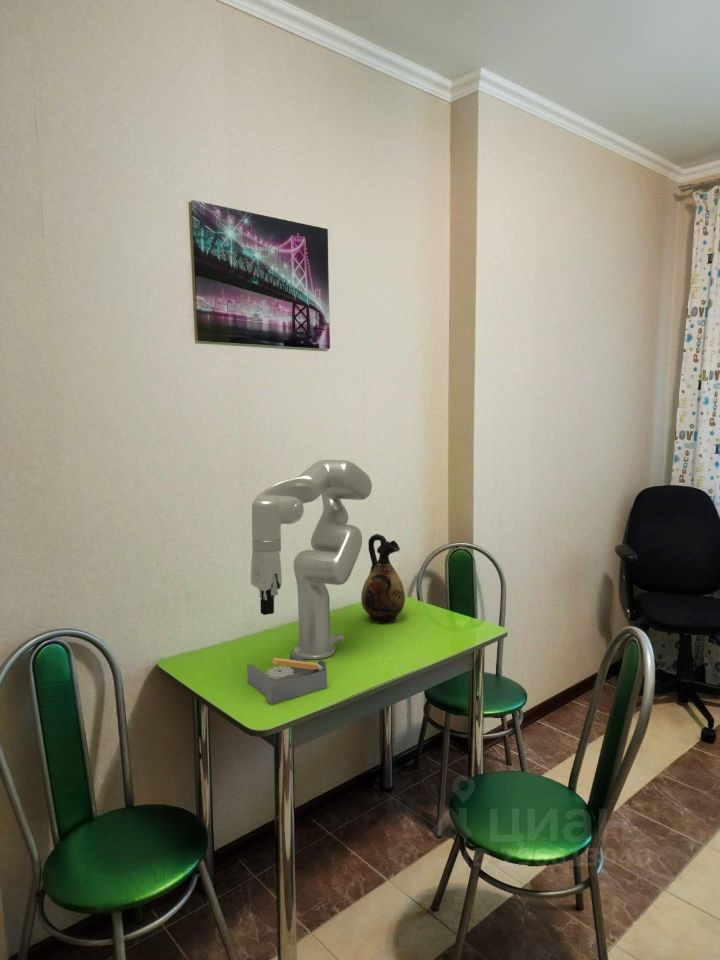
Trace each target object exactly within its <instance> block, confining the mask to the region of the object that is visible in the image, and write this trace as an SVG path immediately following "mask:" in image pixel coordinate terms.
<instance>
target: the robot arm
mask: <svg viewBox="0 0 720 960" xmlns="http://www.w3.org/2000/svg"><path fill="white" fill-rule="evenodd" d="M372 483H373V482H372V479H371V478H370V476H369V475H368V474H367V472H365V471H364V470H363V469H362V468H360V467H359V466H358V465H356V464H355V463H354V462H353V461H350V460H346V459H321V460H317V461H316V462H315V463H313V464H312V465H310V467H307V469H306V470H304V471H303V472H302V473H301V474H300V475H299V476H296V477H293V478H288V479H287V480H283V481H280V482H278V483H275V484H272V485H270V486H268V487H267V488H266V489H264V490H262V492H260V493H259V494H258V495H257V496H256V497H255V499H254V500H253V502H252V504H251V535H252V536H251V539H252V540H251V544H252V546H251V547H252V553H251V554H252V555H251V563H250V564H251V565H250V567H251V568H250V583H251V585H252V586H253V587H255V588H257V589H258V592H259V598H260V601H259V603H260V614H262V615H263V616H267V615H273V614H274V613H275V599H276V597H275V596H278V594H279V593H278V592H279V591H278V590H279V589H281V587H282V562H281V555H280V554H281V553H280V552H281V551H282V541H281V540H282V539H281V538H282V537H281V536H282V534H281V533H282V530H281V528H282V526H281V525H283V524H286V525H292V524H295V523H297V522H298V521H300V520H301V519H302V517H303V515H304V508H305V507H304V504H306V503H311V502H314V501H315V500H318V498H319V497H320V496H321V501H322V506H323V508H322V509H323V510H322V512H321V513H322V514H321V515H320V518H319V520H318V521H317V524H316V526H315V528H314V531H313V532H312V535H311V537H310V538H311V539H310V547H312V549H306V550H305V549H304V550H301V551H300V552H298V553H297V554H296V556H295V557H294V560H293V571H294V577H295V581H296V582H295V583H296V587H297V589H296V590H297V606H298V607H297V609H298V611H297V612H298V614H297V615H298V619H297V620H298V644H297V645H295V647H294V649H293V653H295V654H296V655H298V656H300V657H301V658H303V659H305V660H321V659H326V658H330V657H331V656H333V655H334V654H335V653H336V645H334V644H336V643H338V642H343V641H344V639H345V637H344V635H343V634H342V633H341V634H339V635H336V634H335V633H332V634H331V620H330V619H331V617H330V615H331V613H330V593H329V590H328V588H327V586H326V585H335V586H336V585H337V586H341V585H344V584H345V583H347V581H348V580H349V578H350V576H351V574H352V572H353V570H354V567H355V565H356V562H357V559H358V557H359V554H360V552H361V549H362V545H363V544H362V543H363V534H362V531H361V530H360V528H358V527H357V526H355V525H353V524H348V521H349V513H348V511H347V509H346V507H345V506H344V504H343V502H342V500H355V501H356V500H357V501H358V500H361V501H362V500H363V501H364V500H366V499H367V498H369V496H370V495H371V493H372V488H373V485H372ZM325 584H326V585H325Z"/></svg>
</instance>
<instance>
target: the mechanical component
mask: <svg viewBox="0 0 720 960" xmlns="http://www.w3.org/2000/svg"><path fill="white" fill-rule="evenodd" d="M267 669H268V670H267V671H265V674H266V675H267V676H269V677H270V678H272V679H273V680H274V679H278V678H281V677H285V676H288V675H292V674H294V670H293V669H290V667H288V666H280V665H276V666H274V667H272V668H267Z"/></svg>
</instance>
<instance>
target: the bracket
mask: <svg viewBox="0 0 720 960" xmlns="http://www.w3.org/2000/svg"><path fill="white" fill-rule="evenodd" d="M289 660H296V661H303V662H309V661H308V660H307V659H304V658H301V657H300V656H298V655H296V654H295V653H294V652H291V653H289ZM317 664H319V665H321V666H322V667H323V669H322V670H321V671H320V670H318V669H316V670H314V669H305V668H297V667H289V668H290V669H293V670H294V674H292V675H288V676H285V677H281V678H278V679H274V680H273V679H272V678H270V677H269V676H267V675H266V672H263V670H261V669H259V668H258V667H256V666H255V665H254V664H251V663H250V664H249V663H248V664H247V665H246V676H247V679H246V681H247V684H249V685H250V686H251V687H252V688H254V689H255V690H257V691H258V692H259V693H261V694H262V695H264V697H265V701H266V702H267V703H268V704H269V705H271V706H273V704H274V705H276V703H277V704H280V703H282V701H283V702H286V701H289V700H292V699H291V698H293V699H295V697H296V698H299V697H302V696H305V695H308V694H307V693H309V694H311V693H310V692H312V693H314V692H313V691H315V692H318V691H320V689H321V690H324V689H323V688H325V689H327V688H328V672H327V671H328V670H327V662H326V661H324V660H321V659H318V661H317ZM326 687H327V688H326ZM317 690H318V691H317ZM304 694H305V695H304ZM301 695H302V696H301ZM298 696H299V697H298ZM288 699H289V700H288ZM285 700H286V701H285ZM279 702H280V703H279Z"/></svg>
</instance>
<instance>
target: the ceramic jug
mask: <svg viewBox="0 0 720 960" xmlns="http://www.w3.org/2000/svg"><path fill="white" fill-rule="evenodd" d="M376 541H380V545H379V546H378V547H377V548H376V550H375V542H376ZM367 544H368V547H367V548H368V552H369V556H370V557H369V558H370V561H371V566H370V571H369V574H368V576H367V577H366V579H365V581H364V584H363V586H362V589H361V597H360V599H361V605H362V607H363V609H364V611H365V612H366V614H368V619H369V621H371V622H373V623H375V624H379V625H383V624H384V625H385V624H387V625H389V624H393V623H395V622H396V621H397V620H396V618H397V617H398V615H399V614H400V613H401V612H402V610H403V609H404V606H405V604H406V603H405V602H406V595H405V590H404V585H403V582H402V580H401V578H400V576H399V575H398V573H397V571H396V569H395V568H394V567H393V565H392V563H391V562H390V557H389V556H390V555H391V554H393V553H397V552H399V551H401V549H400V546H399V543H398V542H397V541H395V540H392V541H390V540H388V541H387V539H386V538H385V535H382V534H379V533H375V534H374V535H373V534H372V535H371V536H370V538H369V539H368V543H367ZM376 552H377V554H379V556H378V558H377V555H376ZM395 620H396V621H395Z"/></svg>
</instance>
